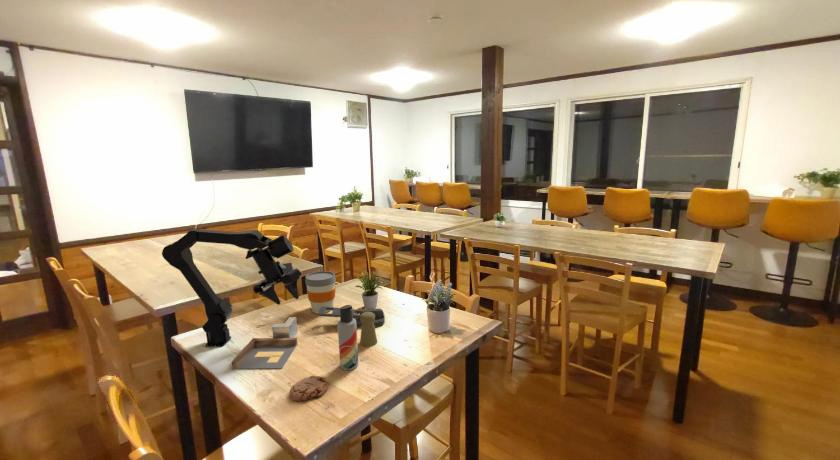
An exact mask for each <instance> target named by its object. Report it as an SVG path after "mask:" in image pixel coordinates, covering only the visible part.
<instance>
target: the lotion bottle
mask: <svg viewBox="0 0 840 460" xmlns="http://www.w3.org/2000/svg"><path fill="white" fill-rule="evenodd" d="M339 308H340V317H339V319H338V321H337V335H338V337H337V338H338V353H339V355H338V356H339V365H340V368H341V369H342V370H344V371H351V370H354V369H356V368H358V366H359V352H358V351H359V350H358V349H359V348H358V331H357V330H358V329H357V328H358V327H356V320H355V319H354V318H353V310H352V309H353V306H352V305H351V304H346V305H343V306H341V307H339Z"/></svg>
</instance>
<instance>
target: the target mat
mask: <svg viewBox="0 0 840 460" xmlns="http://www.w3.org/2000/svg"><path fill="white" fill-rule="evenodd" d="M296 347H297V346H256V347H255V348H254V349H253V350H252V351H251V352H250V354H249V355H248V356H247V357H246V358H245V360H244V361H243V362H242V363H241V364H240V365H239V367H238V368H237V369H236V370H278V369H279V370H280V369H283V367H284V366H285V364H286V363H287V362H288V360H289V358H290V356H292V353H293V352H294V350H295V349H296Z"/></svg>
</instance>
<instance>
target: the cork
mask: <svg viewBox="0 0 840 460" xmlns="http://www.w3.org/2000/svg"><path fill="white" fill-rule="evenodd" d="M360 321H361V323H362V327H360V341H359V344H360V346H362V347H365V348H366V347H368V348H370V347H373V346H375V345H377V343H378V338H377V333H376V327H374V321H375V315H374V314H373V313H372V312H364V313H362V314H361V316H360Z"/></svg>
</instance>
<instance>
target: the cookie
mask: <svg viewBox="0 0 840 460" xmlns="http://www.w3.org/2000/svg"><path fill="white" fill-rule="evenodd" d="M328 386H329V384H328V382H327V381H326V377H323V376H318V375H311V376H309V377H304V378H302V379H301V380H298V381H296V383H294V384H293V385H292V386H291V387H290V389H289V398H290V400H292V401H294V402H301V401H302V402H303V401H307V400H308V401H309V400H310V399H312V398H315V397H321V396H323V395H324V394H325V393H326V392H327V390H328Z"/></svg>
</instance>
